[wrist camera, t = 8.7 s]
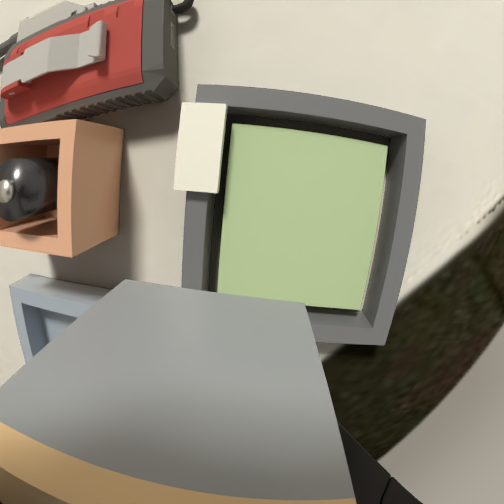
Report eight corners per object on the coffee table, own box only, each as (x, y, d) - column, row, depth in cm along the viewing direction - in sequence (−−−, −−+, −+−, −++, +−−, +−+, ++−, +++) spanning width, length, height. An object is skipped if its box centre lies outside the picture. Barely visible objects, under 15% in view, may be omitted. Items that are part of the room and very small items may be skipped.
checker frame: (373, 327, 18) (387, 349, 15) (181, 308, 18) (169, 329, 16) (408, 124, 15) (430, 118, 12) (197, 94, 15) (184, 81, 13)
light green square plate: (356, 303, 17) (360, 310, 16) (218, 290, 17) (216, 295, 16) (382, 146, 15) (387, 145, 14) (233, 125, 15) (232, 123, 14)
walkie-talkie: (197, -23, 14) (-25, 66, 15) (181, -62, 9) (-60, 59, 10) (202, 100, 16) (-30, 164, 17) (181, 79, 11) (-69, 168, 13)
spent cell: (90, 206, 16) (24, 225, 11) (54, 203, 16) (-14, 221, 11) (92, 157, 16) (24, 157, 10) (55, 157, 16) (-14, 160, 10)
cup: (118, 234, 17) (72, 257, 12) (42, 226, 17) (-10, 244, 13) (124, 129, 16) (76, 119, 11) (45, 133, 16) (-9, 130, 11)
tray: (154, 439, 21) (145, 461, 19) (61, 411, 22) (48, 428, 19) (141, 294, 18) (125, 311, 16) (30, 273, 18) (8, 285, 16)
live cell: (276, 432, 9) (278, 624, 2) (134, 410, 9) (55, 575, 3) (304, 302, 8) (371, 574, 1) (125, 278, 8) (-63, 451, 1)
